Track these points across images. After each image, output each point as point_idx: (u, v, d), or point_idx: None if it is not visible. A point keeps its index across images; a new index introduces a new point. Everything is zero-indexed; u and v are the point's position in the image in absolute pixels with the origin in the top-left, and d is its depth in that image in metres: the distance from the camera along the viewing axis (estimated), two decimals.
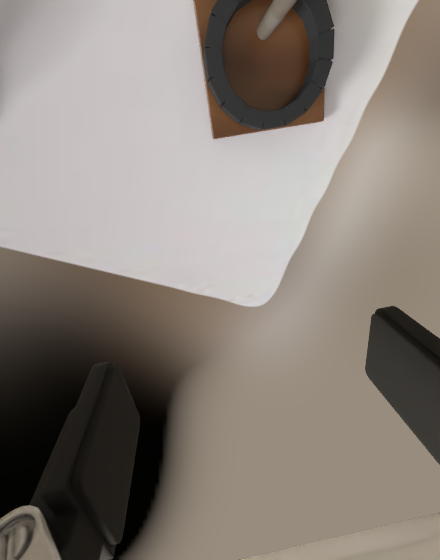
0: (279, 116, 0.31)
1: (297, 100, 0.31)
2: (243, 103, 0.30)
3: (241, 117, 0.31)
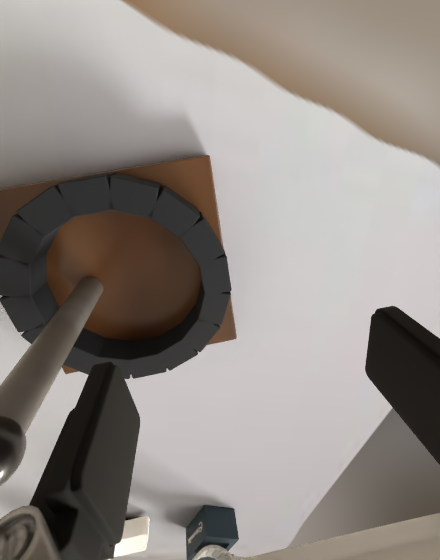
0: (211, 268, 0.17)
1: (183, 239, 0.16)
2: (195, 326, 0.19)
3: (214, 326, 0.19)
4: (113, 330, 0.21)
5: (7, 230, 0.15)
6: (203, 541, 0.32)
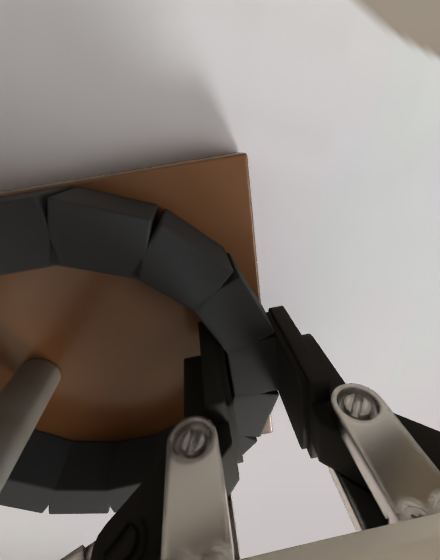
0: (249, 358, 0.10)
1: (200, 312, 0.09)
2: None
3: (247, 440, 0.11)
4: (82, 430, 0.13)
5: None
6: None
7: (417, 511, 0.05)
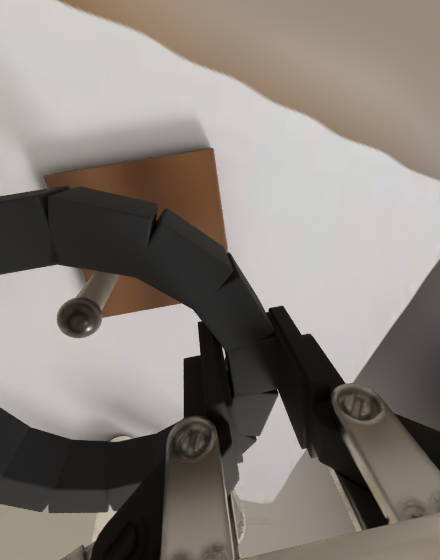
0: (249, 357, 0.10)
1: (200, 311, 0.09)
2: None
3: (247, 439, 0.11)
4: (139, 283, 0.27)
5: None
6: None
7: (417, 511, 0.05)
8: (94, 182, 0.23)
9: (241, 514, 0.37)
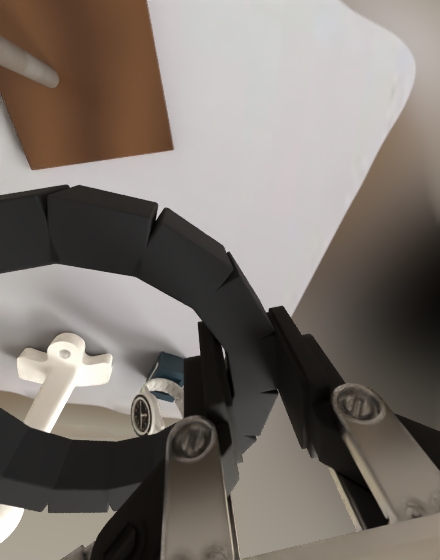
0: (249, 356, 0.10)
1: (200, 310, 0.09)
2: None
3: (247, 439, 0.11)
4: (69, 126, 0.26)
5: None
6: (157, 372, 0.37)
7: (417, 511, 0.05)
8: None
9: None
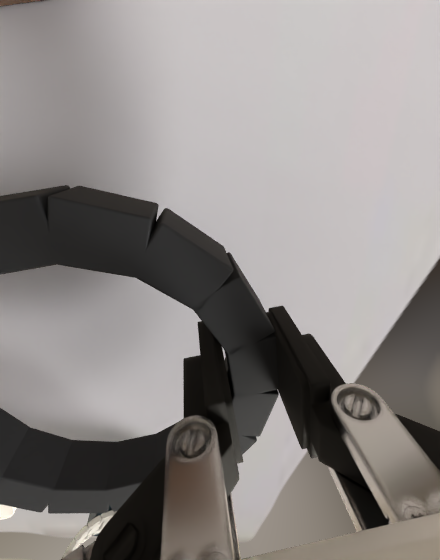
0: (249, 357, 0.10)
1: (200, 311, 0.09)
2: None
3: (247, 439, 0.11)
4: None
5: None
6: None
7: (417, 511, 0.05)
8: None
9: None
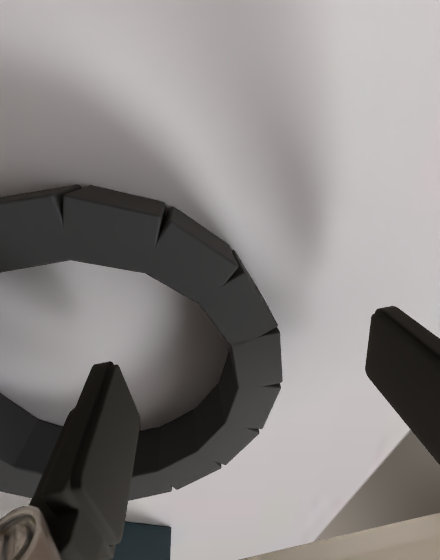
0: (252, 351, 0.10)
1: (206, 306, 0.09)
2: (219, 433, 0.12)
3: (250, 431, 0.12)
4: None
5: None
6: None
7: None
8: None
9: None
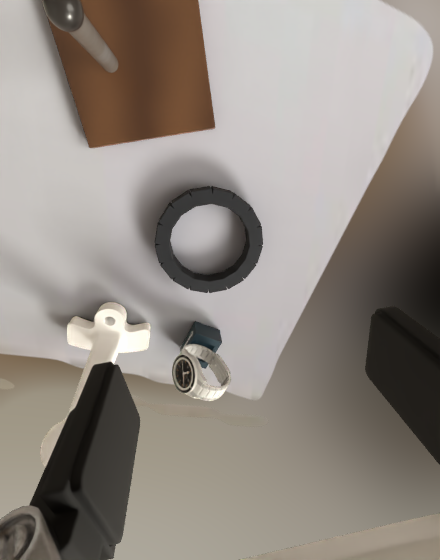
0: (254, 232, 0.35)
1: (242, 217, 0.34)
2: (243, 263, 0.37)
3: (253, 264, 0.37)
4: (124, 107, 0.29)
5: (165, 212, 0.33)
6: (193, 338, 0.40)
7: None
8: None
9: (226, 373, 0.38)
